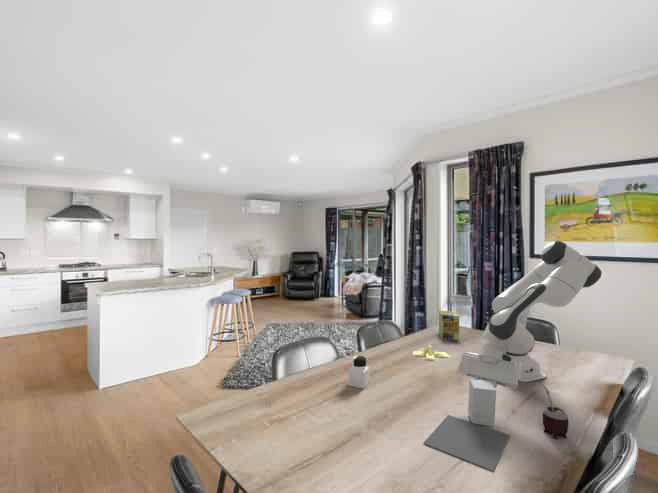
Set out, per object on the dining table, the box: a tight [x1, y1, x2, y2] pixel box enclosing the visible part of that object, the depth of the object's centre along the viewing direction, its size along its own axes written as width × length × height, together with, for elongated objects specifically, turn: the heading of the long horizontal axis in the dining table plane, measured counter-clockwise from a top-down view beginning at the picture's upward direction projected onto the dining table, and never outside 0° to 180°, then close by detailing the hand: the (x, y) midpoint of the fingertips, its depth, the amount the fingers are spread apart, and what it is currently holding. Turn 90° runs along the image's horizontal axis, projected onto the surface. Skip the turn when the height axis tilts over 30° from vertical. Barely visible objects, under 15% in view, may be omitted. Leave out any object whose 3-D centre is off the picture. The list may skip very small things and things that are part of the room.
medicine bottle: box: [348, 355, 370, 389], centre depth 147 cm, size 7×7×12 cm
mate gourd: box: [539, 381, 569, 440], centre depth 111 cm, size 8×8×15 cm
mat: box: [422, 414, 511, 473], centre depth 107 cm, size 22×20×1 cm
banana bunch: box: [411, 344, 451, 362], centre depth 188 cm, size 22×19×6 cm
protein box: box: [438, 310, 460, 341], centre depth 224 cm, size 10×15×16 cm
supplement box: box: [467, 378, 497, 427], centre depth 118 cm, size 7×7×13 cm
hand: (482, 391), depth 123 cm, fingers open, 2 cm apart
